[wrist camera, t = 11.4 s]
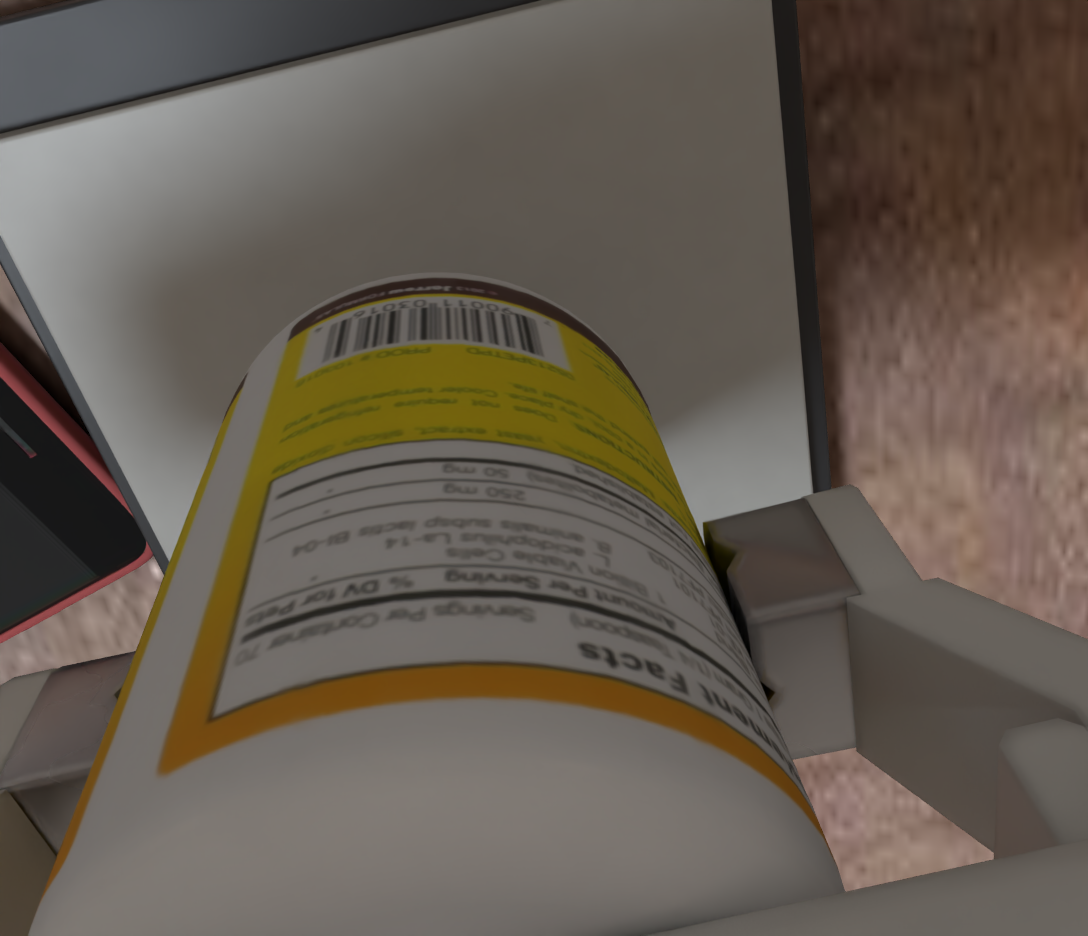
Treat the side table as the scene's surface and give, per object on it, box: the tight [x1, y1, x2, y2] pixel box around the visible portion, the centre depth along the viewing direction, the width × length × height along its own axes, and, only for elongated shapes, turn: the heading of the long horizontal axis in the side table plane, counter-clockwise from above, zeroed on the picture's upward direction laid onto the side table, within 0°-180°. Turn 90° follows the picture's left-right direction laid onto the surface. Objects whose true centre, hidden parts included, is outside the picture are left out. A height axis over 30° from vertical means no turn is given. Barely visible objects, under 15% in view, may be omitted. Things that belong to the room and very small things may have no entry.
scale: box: [0, 0, 831, 575], centre depth 16 cm, size 12×12×2 cm
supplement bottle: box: [28, 272, 845, 936], centre depth 9 cm, size 6×6×10 cm
